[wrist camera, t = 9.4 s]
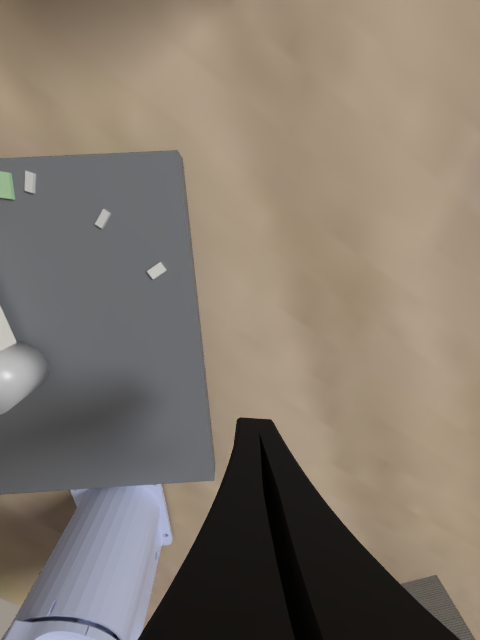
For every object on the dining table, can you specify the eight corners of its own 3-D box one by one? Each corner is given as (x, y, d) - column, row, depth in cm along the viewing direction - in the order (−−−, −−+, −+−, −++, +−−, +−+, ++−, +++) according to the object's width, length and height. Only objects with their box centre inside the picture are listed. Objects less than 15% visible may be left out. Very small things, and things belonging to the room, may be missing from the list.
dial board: (215, 465, 23) (214, 482, 21) (-55, 482, 22) (-77, 501, 21) (182, 158, 15) (176, 149, 13) (-235, 177, 14) (-294, 170, 13)
